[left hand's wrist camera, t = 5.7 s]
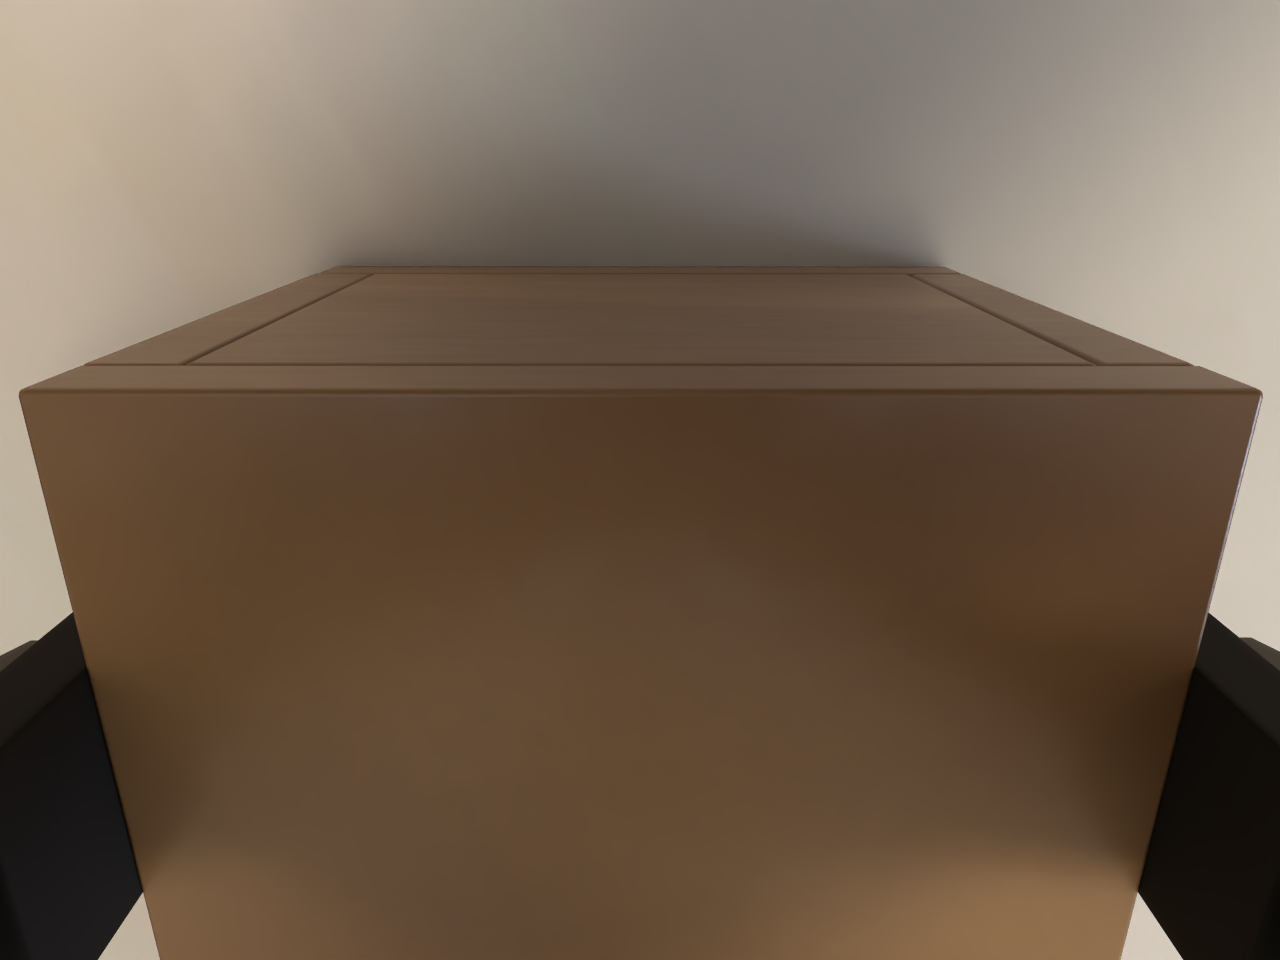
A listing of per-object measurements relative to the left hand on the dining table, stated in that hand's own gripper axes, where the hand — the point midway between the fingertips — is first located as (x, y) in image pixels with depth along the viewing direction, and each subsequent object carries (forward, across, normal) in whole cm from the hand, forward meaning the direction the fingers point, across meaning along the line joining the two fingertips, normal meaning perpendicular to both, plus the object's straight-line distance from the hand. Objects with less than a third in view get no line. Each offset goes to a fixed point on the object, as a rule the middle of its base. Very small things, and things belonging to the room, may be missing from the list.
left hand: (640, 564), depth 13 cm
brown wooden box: (+3, 0, -5) cm, 6 cm away
